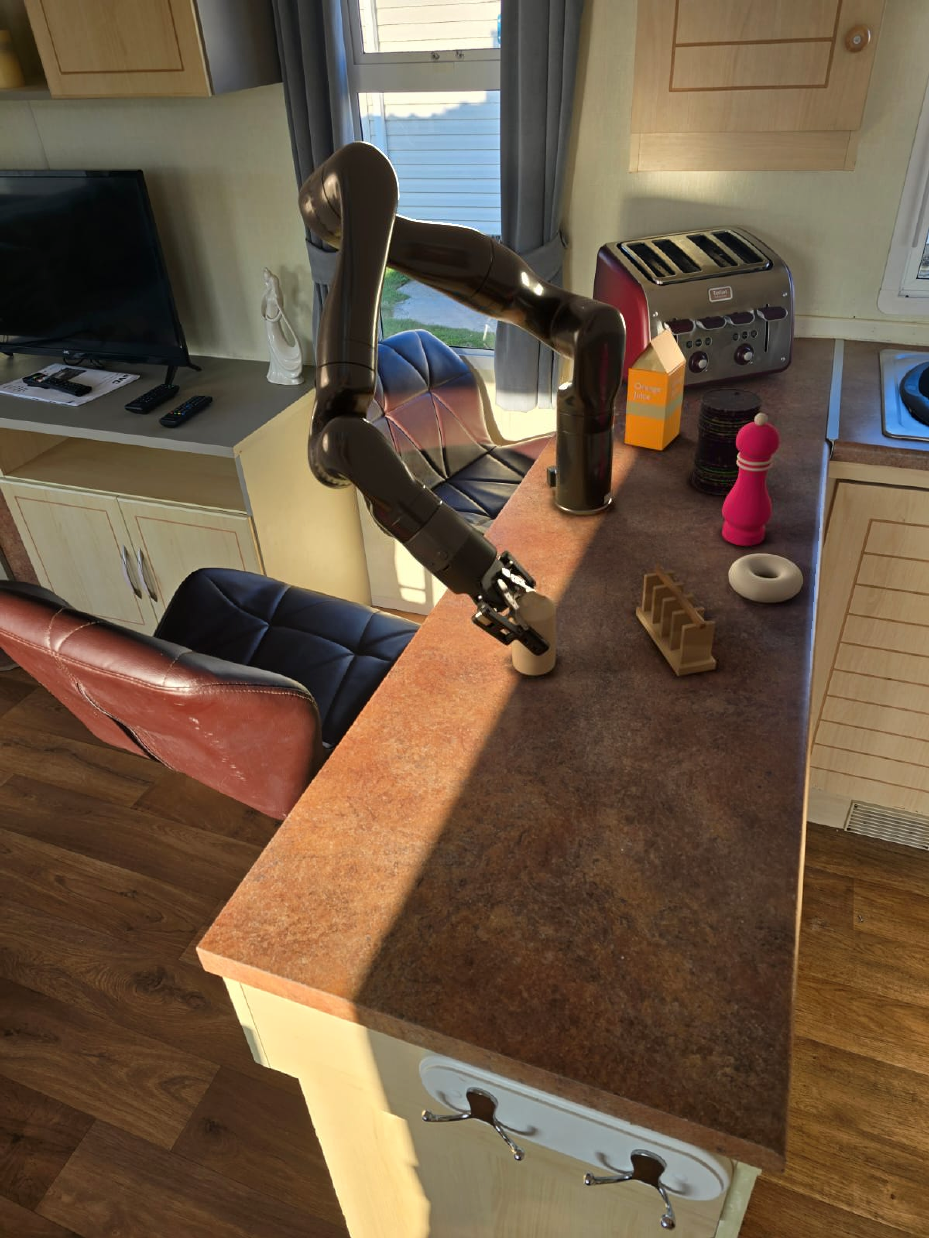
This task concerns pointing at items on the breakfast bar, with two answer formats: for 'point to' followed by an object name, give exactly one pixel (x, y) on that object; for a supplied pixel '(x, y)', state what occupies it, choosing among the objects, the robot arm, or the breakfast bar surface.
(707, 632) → the toast rack
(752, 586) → the donut
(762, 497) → the pepper mill
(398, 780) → the breakfast bar surface
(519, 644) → the candle
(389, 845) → the breakfast bar surface
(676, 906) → the breakfast bar surface
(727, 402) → the storage jar
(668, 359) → the orange juice
